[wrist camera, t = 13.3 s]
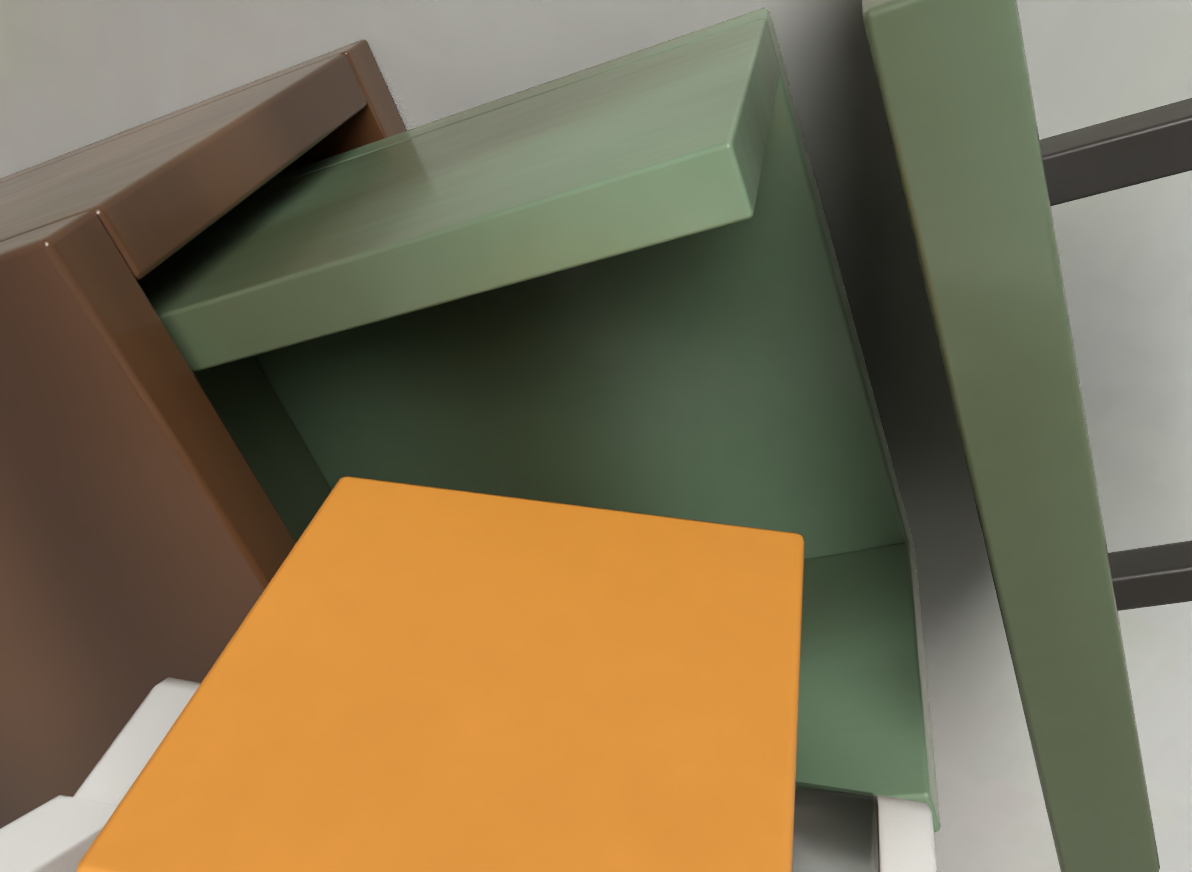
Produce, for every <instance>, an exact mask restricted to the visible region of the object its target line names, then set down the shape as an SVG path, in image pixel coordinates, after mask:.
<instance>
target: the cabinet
mask: <svg viewBox="0 0 1192 872" xmlns="http://www.w3.org/2000/svg"><path fill="white" fill-rule="evenodd" d="M405 131H407V130H406V128H405V125H404V123H403V121H402V119H401V116H400V114H399V112H398V110H397V107H396V105H395V103H394V101H393V99H392V96H391V94H390V92H389V90H388V87H387V85H386V83H385V81H384V78H383V76H382V74H381V72H380V69H379V67H378V65H377V63H376V61H375V58H374V56H373V54H372V52H371V49H370V47H369V45H368V43H367V41H366V40H360V41H358V42H355V43H353V44H350V45H347V46H345V47H342V48H340V49H337V50H334V51H332V52H329V53H327V54H324V55H321V56H319V57H316V58H314V59H311V60H308V61H306V62H303V63H301V64H298V65H295V66H293V67H290V68H288V69H285V70H282V71H280V72H277V73H275V74H272V75H269V76H267V77H264V78H262V79H259V80H256V81H254V82H251V83H249V84H246V85H243V86H241V87H238V88H236V89H233V90H230V91H228V92H225V93H223V94H220V95H217V96H215V97H212V98H210V99H207V100H204V101H202V102H199V103H197V104H194V105H191V106H189V107H186V108H184V109H181V110H178V111H176V112H173V113H171V114H168V115H165V116H163V117H160V118H158V119H155V120H152V121H150V122H147V123H144V124H142V125H139V126H137V127H134V128H131V129H129V130H126V131H124V132H121V133H118V134H116V135H113V136H111V137H108V138H105V139H103V140H100V141H98V142H95V143H92V144H90V145H87V146H85V147H82V148H79V149H77V150H74V151H72V152H69V153H66V154H64V155H61V156H59V157H56V158H53V159H51V160H48V161H46V162H43V163H40V164H38V165H35V166H33V167H30V168H27V169H25V170H22V171H20V172H17V173H14V174H12V175H9V176H7V177H4V178H1V179H0V829H1V828H2V827H4V826H6V825H8V824H9V823H11V822H13V821H15V820H16V819H18V818H20V817H22V816H23V815H25V814H27V813H29V812H31V811H32V810H34V809H36V808H38V807H39V806H41V805H43V804H45V803H46V802H48V801H50V800H52V799H53V798H55V797H57V796H59V795H65V796H72V797H73V796H74V794H75V793H76V792H77V790H78V789H79V788H80V786H81V785H82V784H83V782H84V781H85V779H86V778H87V777H88V775H89V774H90V773H91V771H92V770H93V769H94V767H95V766H96V765H97V763H98V762H99V760H100V759H101V758H102V756H103V755H104V754H105V752H106V751H107V750H108V748H109V747H110V746H111V744H112V743H113V741H114V740H115V739H116V737H117V736H118V735H119V733H120V732H121V731H122V729H123V728H124V726H125V725H126V724H127V722H128V721H129V720H130V718H131V717H132V716H133V714H134V713H135V712H136V710H137V709H138V707H139V706H140V705H141V703H142V702H143V701H144V699H145V698H146V697H147V695H148V694H149V693H150V691H151V690H152V688H153V687H155V686H156V685H157V684H159V683H160V682H162V681H163V680H165V679H166V678H168V677H170V678H176V679H182V680H187V681H193V682H199V683H202V681H203V680H204V678H205V677H206V675H207V674H208V672H209V671H210V669H211V668H212V666H213V665H214V663H215V662H216V661H217V659H218V658H219V656H220V655H221V653H222V652H223V650H224V649H225V647H226V646H227V644H228V643H229V641H230V640H231V638H232V637H233V635H234V634H235V633H236V631H237V630H238V628H239V627H240V625H241V624H242V622H243V621H244V619H245V618H246V616H247V615H248V613H249V612H250V610H251V609H252V608H253V606H254V605H255V603H256V602H257V600H258V599H259V597H260V596H261V594H262V593H263V591H264V590H265V588H266V587H267V585H268V584H269V582H270V581H271V580H272V578H273V577H274V575H275V574H276V572H277V571H278V569H279V568H280V566H281V565H282V563H283V562H284V560H285V559H286V557H287V556H288V555H289V553H290V552H291V550H292V549H293V547H294V546H295V544H296V543H297V542H296V540H295V539H294V537H293V535H292V534H291V532H290V530H289V529H288V527H287V526H286V524H285V522H284V521H283V519H282V517H281V516H280V514H279V512H278V511H277V509H276V507H275V506H274V504H273V503H272V501H271V499H270V498H269V496H268V494H267V493H266V491H265V489H264V488H263V486H262V485H261V483H260V481H259V480H258V478H257V476H256V475H255V473H254V471H253V470H252V468H251V466H250V465H249V463H248V462H247V460H246V458H245V457H244V455H243V453H242V452H241V450H240V448H239V447H238V445H237V443H236V442H235V440H234V439H233V437H232V435H231V434H230V432H229V430H228V429H227V427H226V425H225V424H224V422H223V421H222V419H221V417H220V416H219V414H218V412H217V411H216V409H215V407H214V406H213V404H212V402H211V401H210V399H209V398H208V396H207V394H206V393H205V391H204V389H203V388H202V386H201V384H200V383H199V381H198V380H197V378H196V376H195V375H194V373H193V371H192V370H191V368H190V366H189V365H188V363H187V361H186V360H185V358H184V357H183V355H182V353H181V352H180V350H179V348H178V347H177V345H176V343H175V342H174V340H173V339H172V337H171V335H170V334H169V332H168V330H167V329H166V327H165V325H164V324H163V322H162V320H161V319H160V317H159V316H158V314H157V312H156V311H155V309H154V307H153V306H152V304H151V302H150V301H149V299H148V298H147V296H146V294H145V293H144V291H143V289H142V288H141V286H140V284H139V283H138V281H139V280H141V279H142V278H143V277H144V276H146V275H147V274H148V273H150V272H151V271H152V270H154V269H155V268H156V267H157V266H159V265H160V264H161V263H163V262H164V261H165V260H167V259H168V258H169V257H170V256H172V255H173V254H174V253H176V252H177V251H178V250H180V249H181V248H182V247H183V246H185V245H186V244H187V243H189V242H190V241H191V240H193V239H194V238H195V237H197V236H198V235H199V234H200V233H202V232H203V231H204V230H206V229H207V228H208V227H210V226H211V225H212V224H213V223H215V222H216V221H217V220H219V219H220V218H221V217H223V216H224V215H225V214H226V213H228V212H229V211H230V210H232V209H233V208H234V207H236V206H237V205H238V204H239V203H241V202H242V201H243V200H245V199H246V198H247V197H249V196H250V195H251V194H252V193H254V192H255V191H256V190H258V189H259V188H260V187H262V186H263V185H264V184H265V183H267V182H268V181H269V180H271V179H272V178H273V177H275V176H277V175H280V174H283V173H286V172H289V171H292V170H294V169H297V168H300V167H303V166H306V165H309V164H312V163H315V162H318V161H321V160H324V159H326V158H329V157H332V156H335V155H338V154H341V153H344V152H347V151H350V150H353V149H355V148H358V147H361V146H364V145H367V144H370V143H373V142H376V141H379V140H382V139H385V138H387V137H390V136H393V135H396V134H399V133H402V132H405Z"/></svg>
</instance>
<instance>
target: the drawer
mask: <svg viewBox="0 0 1192 872" xmlns="http://www.w3.org/2000/svg"><path fill="white" fill-rule="evenodd" d="M862 11H863V21H864V25H865V30H866V34H867V38H868V42H869V47H870V51H871V55H872V60H873V64H874V68H875V73H876V77H877V81H878V85H879V90H880V94H881V98H882V103H883V107H884V111H885V116H886V120H887V124H888V129H889V133H890V137H891V141H892V146H893V150H894V154H895V159H896V163H897V167H898V172H899V176H900V180H901V185H902V189H903V193H904V197H905V202H906V206H907V210H908V215H909V219H910V223H911V228H912V232H913V236H914V241H915V245H916V249H917V253H918V258H919V262H920V266H921V271H922V275H923V279H924V284H925V288H926V292H927V296H928V301H929V305H930V309H931V314H932V318H933V322H934V327H935V331H936V335H937V340H938V344H939V348H940V352H941V357H942V361H943V365H944V370H945V374H946V378H947V383H948V387H949V391H950V396H951V400H952V404H953V408H954V413H955V417H956V421H957V426H958V430H959V434H960V439H961V443H962V447H963V452H964V456H965V460H966V464H967V469H968V473H969V477H970V482H971V486H972V490H973V495H974V499H975V503H976V507H977V512H978V516H979V520H980V525H981V529H982V533H983V538H984V542H985V546H986V551H987V555H988V559H989V563H990V568H991V572H992V576H993V581H994V585H995V589H996V594H997V598H998V602H999V607H1000V611H1001V615H1002V619H1003V624H1004V628H1005V632H1006V637H1007V641H1008V645H1009V650H1010V654H1011V658H1012V663H1013V667H1014V671H1015V675H1016V680H1017V684H1018V688H1019V693H1020V697H1021V701H1022V706H1023V710H1024V714H1025V718H1026V723H1027V727H1028V731H1029V736H1030V740H1031V744H1032V749H1033V753H1034V757H1035V762H1036V766H1037V770H1038V774H1039V779H1040V783H1041V787H1042V792H1043V796H1044V800H1045V805H1046V809H1047V813H1048V818H1049V822H1050V826H1051V830H1052V835H1053V839H1054V843H1055V848H1056V852H1057V856H1058V861H1059V865H1060V869H1061V872H1159V869H1160V865H1159V859H1158V853H1157V847H1156V841H1155V835H1154V829H1153V823H1152V817H1151V811H1150V805H1149V799H1148V793H1147V787H1146V781H1145V775H1144V769H1143V763H1142V757H1141V751H1140V745H1139V739H1138V733H1137V727H1136V721H1135V714H1134V708H1133V702H1132V696H1131V690H1130V684H1129V678H1128V672H1127V666H1126V660H1125V654H1124V648H1123V642H1122V636H1121V630H1120V624H1119V618H1118V612H1117V611H1119V610H1127V609H1134V608H1142V607H1150V606H1157V605H1165V604H1172V603H1180V602H1188V601H1192V541H1185V542H1179V543H1172V544H1165V545H1159V546H1152V547H1145V548H1138V549H1132V550H1125V551H1118V552H1112V553H1108V551H1107V545H1106V539H1105V533H1104V527H1103V521H1102V515H1101V509H1100V503H1099V497H1098V491H1097V485H1096V479H1095V473H1094V467H1093V461H1092V455H1091V449H1090V443H1089V437H1088V431H1087V425H1086V419H1085V413H1084V407H1083V400H1082V394H1081V388H1080V382H1079V376H1078V370H1077V364H1076V358H1075V352H1074V346H1073V340H1072V334H1071V328H1070V322H1069V316H1068V310H1067V304H1066V298H1065V292H1064V286H1063V280H1062V274H1061V268H1060V262H1059V256H1058V250H1057V243H1056V237H1055V231H1054V225H1053V219H1052V213H1051V207H1050V206H1053V205H1057V204H1061V203H1065V202H1069V201H1073V200H1077V199H1081V198H1085V197H1088V196H1092V195H1096V194H1100V193H1104V192H1108V191H1112V190H1116V189H1120V188H1124V187H1128V186H1132V185H1135V184H1139V183H1143V182H1147V181H1151V180H1155V179H1159V178H1163V177H1167V176H1171V175H1175V174H1179V173H1182V172H1186V171H1190V170H1192V98H1190V99H1187V100H1183V101H1179V102H1176V103H1172V104H1169V105H1165V106H1161V107H1158V108H1154V109H1150V110H1147V111H1143V112H1140V113H1136V114H1132V115H1129V116H1125V117H1122V118H1118V119H1114V120H1111V121H1107V122H1103V123H1100V124H1096V125H1093V126H1089V127H1085V128H1082V129H1078V130H1074V131H1071V132H1067V133H1064V134H1060V135H1056V136H1053V137H1049V138H1045V139H1042V140H1039V135H1038V129H1037V123H1036V117H1035V111H1034V105H1033V99H1032V93H1031V86H1030V80H1029V74H1028V68H1027V62H1026V56H1025V50H1024V44H1023V38H1022V32H1021V26H1020V20H1019V14H1018V8H1017V2H1016V0H862ZM138 283H139V284H140V286H141V288H142V289H143V291H144V293H145V294H146V296H147V298H148V299H149V301H150V302H151V304H152V306H153V307H154V309H155V311H156V312H157V314H158V316H159V317H160V319H161V320H162V322H163V324H164V325H165V327H166V329H167V330H168V332H169V334H170V335H171V337H172V339H173V340H174V342H175V343H176V345H177V347H178V348H179V350H180V352H181V353H182V355H183V357H184V358H185V360H186V361H187V363H188V365H189V366H190V368H191V370H192V371H193V373H194V375H195V376H196V378H197V380H198V381H199V383H200V384H201V386H202V388H203V389H204V391H205V393H206V394H207V396H208V398H209V399H210V401H211V402H212V404H213V406H214V407H215V409H216V411H217V412H218V414H219V416H220V417H221V419H222V421H223V422H224V424H225V425H226V427H227V429H228V430H229V432H230V434H231V435H232V437H233V439H234V440H235V442H236V443H237V445H238V447H239V448H240V450H241V452H242V453H243V455H244V457H245V458H246V460H247V462H248V463H249V465H250V466H251V468H252V470H253V471H254V473H255V475H256V476H257V478H258V480H259V481H260V483H261V485H262V486H263V488H264V489H265V491H266V493H267V494H268V496H269V498H270V499H271V501H272V503H273V504H274V506H275V507H276V509H277V511H278V512H279V514H280V516H281V517H282V519H283V521H284V522H285V524H286V526H287V527H288V529H289V530H290V532H291V534H292V535H293V537H294V539H295V540H296V542H297V541H298V540H299V538H300V537H301V535H302V534H303V532H304V531H305V529H306V528H307V527H308V525H309V524H310V522H311V521H312V519H313V518H314V516H315V515H316V513H317V512H318V510H319V509H320V507H321V506H322V504H323V503H324V501H325V500H326V499H327V497H328V496H329V494H330V493H331V491H332V490H333V488H334V487H335V485H336V484H337V482H338V481H339V479H340V478H342V477H346V476H350V477H358V478H366V479H374V480H382V481H390V482H397V483H405V484H413V485H421V486H429V487H437V488H445V489H453V490H461V491H468V492H476V493H484V494H492V495H500V496H508V497H516V498H524V499H532V500H539V501H547V502H555V503H563V504H571V505H579V506H587V507H595V508H603V509H611V510H618V511H626V512H634V513H642V514H650V515H658V516H666V517H674V518H682V519H689V520H697V521H705V522H713V523H721V524H729V525H737V526H745V527H753V528H760V529H768V530H776V531H784V532H792V533H798V534H800V535H802V537H803V540H804V542H805V545H804V571H803V597H802V623H801V649H800V675H799V701H798V728H797V754H796V780H795V781H797V782H804V783H811V784H817V785H824V786H830V787H837V788H844V789H850V790H857V791H864V792H870V793H873V795H874V796H875V795H882V796H888V797H894V798H900V799H906V800H912V801H918V802H925V803H927V804H928V806H929V808H930V810H931V812H932V819H933V830H934V832H938V831H939V829H940V815H939V804H938V793H937V783H936V772H935V761H934V750H933V739H932V728H931V717H930V706H929V695H928V684H927V673H926V662H925V651H924V640H923V629H922V618H921V608H920V597H919V586H918V575H917V564H916V553H915V545H914V542H913V538H912V534H911V531H910V527H909V523H908V520H907V516H906V512H905V508H904V505H903V501H902V497H901V494H900V490H899V486H898V483H897V479H896V475H895V472H894V468H893V464H892V461H891V457H890V453H889V449H888V446H887V442H886V438H885V435H884V431H883V427H882V424H881V420H880V416H879V413H878V409H877V405H876V402H875V398H874V394H873V390H872V387H871V383H870V379H869V376H868V372H867V368H866V365H865V361H864V357H863V354H862V350H861V346H860V343H859V339H858V335H857V331H856V328H855V324H854V320H853V317H852V313H851V309H850V306H849V302H848V298H847V295H846V291H845V287H844V284H843V280H842V276H841V272H840V269H839V265H838V261H837V258H836V254H835V250H834V247H833V243H832V239H831V236H830V232H829V228H828V225H827V221H826V217H825V213H824V210H823V206H822V202H821V199H820V195H819V191H818V188H817V184H816V180H815V177H814V173H813V169H812V166H811V162H810V158H809V154H808V151H807V147H806V143H805V140H804V136H803V132H802V129H801V125H800V121H799V118H798V114H797V110H796V107H795V103H794V99H793V95H792V92H791V88H790V84H789V81H788V77H787V73H786V70H785V66H784V62H783V59H782V55H781V51H780V47H779V44H778V40H777V36H776V33H775V29H774V25H773V22H772V18H771V14H770V11H769V10H768V9H767V8H762V9H759V10H756V11H753V12H751V13H748V14H745V15H742V16H739V17H736V18H733V19H730V20H727V21H724V22H722V23H719V24H716V25H713V26H710V27H707V28H704V29H701V30H698V31H695V32H692V33H690V34H687V35H684V36H681V37H678V38H675V39H672V40H669V41H666V42H663V43H661V44H658V45H655V46H652V47H649V48H646V49H643V50H640V51H637V52H634V53H631V54H629V55H626V56H623V57H620V58H617V59H614V60H611V61H608V62H605V63H602V64H600V65H597V66H594V67H591V68H588V69H585V70H582V71H579V72H576V73H573V74H570V75H568V76H565V77H562V78H559V79H556V80H553V81H550V82H547V83H544V84H541V85H539V86H536V87H533V88H530V89H527V90H524V91H521V92H518V93H515V94H512V95H509V96H507V97H504V98H501V99H498V100H495V101H492V102H489V103H486V104H483V105H480V106H478V107H475V108H472V109H469V110H466V111H463V112H460V113H457V114H454V115H451V116H448V117H446V118H443V119H440V120H437V121H434V122H431V123H428V124H425V125H422V126H419V127H416V128H414V129H411V130H408V131H405V132H402V133H399V134H396V135H393V136H390V137H387V138H385V139H382V140H379V141H376V142H373V143H370V144H367V145H364V146H361V147H358V148H355V149H353V150H350V151H347V152H344V153H341V154H338V155H335V156H332V157H329V158H326V159H324V160H321V161H318V162H315V163H312V164H309V165H306V166H303V167H300V168H297V169H294V170H292V171H289V172H286V173H283V174H280V175H277V176H275V177H273V178H272V179H271V180H269V181H268V182H267V183H265V184H264V185H263V186H262V187H260V188H259V189H258V190H256V191H255V192H254V193H252V194H251V195H250V196H249V197H247V198H246V199H245V200H243V201H242V202H241V203H239V204H238V205H237V206H236V207H234V208H233V209H232V210H230V211H229V212H228V213H226V214H225V215H224V216H223V217H221V218H220V219H219V220H217V221H216V222H215V223H213V224H212V225H211V226H210V227H208V228H207V229H206V230H204V231H203V232H202V233H200V234H199V235H198V236H197V237H195V238H194V239H193V240H191V241H190V242H189V243H187V244H186V245H185V246H183V247H182V248H181V249H180V250H178V251H177V252H176V253H174V254H173V255H172V256H170V257H169V258H168V259H167V260H165V261H164V262H163V263H161V264H160V265H159V266H157V267H156V268H155V269H154V270H152V271H151V272H150V273H148V274H147V275H146V276H144V277H143V278H142V279H141V280H139V281H138Z"/></svg>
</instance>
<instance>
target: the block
mask: <svg viewBox="0 0 1192 872" xmlns="http://www.w3.org/2000/svg"><path fill="white" fill-rule="evenodd" d="M804 545H805V542H804V540H803V537H802V535H800V534H798V533H792V532H784V531H776V530H768V529H760V528H753V527H745V526H737V525H729V524H721V523H713V522H705V521H697V520H689V519H682V518H674V517H666V516H658V515H650V514H642V513H634V512H626V511H618V510H611V509H603V508H595V507H587V506H579V505H571V504H563V503H555V502H547V501H539V500H532V499H524V498H516V497H508V496H500V495H492V494H484V493H476V492H468V491H461V490H453V489H445V488H437V487H429V486H421V485H413V484H405V483H397V482H390V481H382V480H374V479H366V478H358V477H350V476H346V477H342V478H340V479H339V481H338V482H337V484H336V485H335V487H334V488H333V490H332V491H331V493H330V494H329V496H328V497H327V499H326V500H325V501H324V503H323V504H322V506H321V507H320V509H319V510H318V512H317V513H316V515H315V516H314V518H313V519H312V521H311V522H310V524H309V525H308V527H307V528H306V529H305V531H304V532H303V534H302V535H301V537H300V538H299V540H298V541H297V543H296V544H295V546H294V547H293V549H292V550H291V552H290V553H289V555H288V556H287V557H286V559H285V560H284V562H283V563H282V565H281V566H280V568H279V569H278V571H277V572H276V574H275V575H274V577H273V578H272V580H271V581H270V582H269V584H268V585H267V587H266V588H265V590H264V591H263V593H262V594H261V596H260V597H259V599H258V600H257V602H256V603H255V605H254V606H253V608H252V609H251V610H250V612H249V613H248V615H247V616H246V618H245V619H244V621H243V622H242V624H241V625H240V627H239V628H238V630H237V631H236V633H235V634H234V635H233V637H232V638H231V640H230V641H229V643H228V644H227V646H226V647H225V649H224V650H223V652H222V653H221V655H220V656H219V658H218V659H217V661H216V662H215V663H214V665H213V666H212V668H211V669H210V671H209V672H208V674H207V675H206V677H205V678H204V680H203V681H202V683H201V684H200V686H199V687H198V689H197V690H196V691H195V693H194V694H193V696H192V697H191V699H190V700H189V702H188V703H187V705H186V706H185V708H184V709H183V711H182V712H181V714H180V715H179V716H178V718H177V719H176V721H175V722H174V724H173V725H172V727H171V728H170V730H169V731H168V733H167V734H166V736H165V737H164V739H163V740H162V742H161V743H160V744H159V746H158V747H157V749H156V750H155V752H154V753H153V755H152V756H151V758H150V759H149V761H148V762H147V764H146V765H145V767H144V768H143V770H142V771H141V772H140V774H139V775H138V777H137V778H136V780H135V781H134V783H133V784H132V786H131V787H130V789H129V790H128V792H127V793H126V795H125V796H124V797H123V799H122V800H121V802H120V803H119V805H118V806H117V808H116V809H115V811H114V812H113V814H112V815H111V817H110V818H109V820H108V821H107V823H106V824H105V825H104V827H103V828H102V830H101V831H100V833H99V834H98V836H97V837H96V839H95V840H94V842H93V843H92V845H91V846H90V848H89V849H88V850H87V852H86V853H85V855H84V856H83V858H82V859H81V861H80V862H79V864H78V867H77V870H76V872H792V858H793V832H794V806H795V780H796V754H797V728H798V701H799V675H800V649H801V623H802V597H803V571H804Z"/></svg>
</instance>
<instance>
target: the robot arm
mask: <svg viewBox="0 0 1192 872" xmlns="http://www.w3.org/2000/svg"><path fill="white" fill-rule="evenodd" d="M200 684H201V683H199V682H193V681H187V680H182V679H176V678H170V677H168V678H166V679H165V680H163V681H162V682H160V683H159V684H157V685H156V686H155V687H153V688H152V690H151V691H150V693H149V694H148V695H147V697H146V698H145V699H144V701H143V702H142V703H141V705H140V706H139V707H138V709H137V710H136V712H135V713H134V714H133V716H132V717H131V718H130V720H129V721H128V722H127V724H126V725H125V726H124V728H123V729H122V731H121V732H120V733H119V735H118V736H117V737H116V739H115V740H114V741H113V743H112V744H111V746H110V747H109V748H108V750H107V751H106V752H105V754H104V755H103V756H102V758H101V759H100V760H99V762H98V763H97V765H96V766H95V767H94V769H93V770H92V771H91V773H90V774H89V775H88V777H87V778H86V779H85V781H84V782H83V784H82V785H81V786H80V788H79V789H78V790H77V792H76V793H75V794H74V796H73V797H72V796H65V795H59V796H57V797H55V798H53V799H52V800H50V801H48V802H46V803H45V804H43V805H41V806H39V807H38V808H36V809H34V810H32V811H31V812H29V813H27V814H25V815H23V816H22V817H20V818H18V819H16V820H15V821H13V822H11V823H9V824H8V825H6V826H4V827H2V828H1V829H0V872H76V870H77V867H78V864H79V862H80V861H81V859H82V858H83V856H84V855H85V853H86V852H87V850H88V849H89V848H90V846H91V845H92V843H93V842H94V840H95V839H96V837H97V836H98V834H99V833H100V831H101V830H102V828H103V827H104V825H105V824H106V823H107V821H108V820H109V818H110V817H111V815H112V814H113V812H114V811H115V809H116V808H117V806H118V805H119V803H120V802H121V800H122V799H123V797H124V796H125V795H126V793H127V792H128V790H129V789H130V787H131V786H132V784H133V783H134V781H135V780H136V778H137V777H138V775H139V774H140V772H141V771H142V770H143V768H144V767H145V765H146V764H147V762H148V761H149V759H150V758H151V756H152V755H153V753H154V752H155V750H156V749H157V747H158V746H159V744H160V743H161V742H162V740H163V739H164V737H165V736H166V734H167V733H168V731H169V730H170V728H171V727H172V725H173V724H174V722H175V721H176V719H177V718H178V716H179V715H180V714H181V712H182V711H183V709H184V708H185V706H186V705H187V703H188V702H189V700H190V699H191V697H192V696H193V694H194V693H195V691H196V690H197V689H198V687H199V686H200ZM792 872H937V865H936V853H935V842H934V830H933V819H932V812H931V810H930V808H929V806H928V804H927V803H925V802H918V801H912V800H906V799H900V798H894V797H888V796H882V795H875V796H874V795H873V793H870V792H864V791H857V790H850V789H844V788H837V787H830V786H824V785H817V784H811V783H804V782H797V781H795V806H794V832H793V858H792Z"/></svg>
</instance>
